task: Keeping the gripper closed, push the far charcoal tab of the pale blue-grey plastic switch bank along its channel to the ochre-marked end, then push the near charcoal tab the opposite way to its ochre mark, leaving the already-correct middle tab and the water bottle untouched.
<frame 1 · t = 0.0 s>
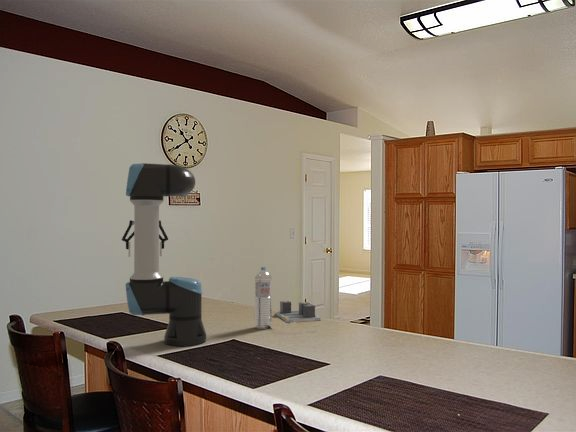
hand: (145, 256, 225), 28 cm above the counter, fingers open, 13 cm apart
water bottle: (263, 328, 205), on the counter
tab mid: (304, 309, 221), point 5 cm above the counter, slide at -3.5 cm
switch bank: (297, 320, 220), on the counter
tab far: (285, 308, 225), point 5 cm above the counter, slide at 3.5 cm
tab near: (309, 312, 215), point 5 cm above the counter, slide at -3.5 cm
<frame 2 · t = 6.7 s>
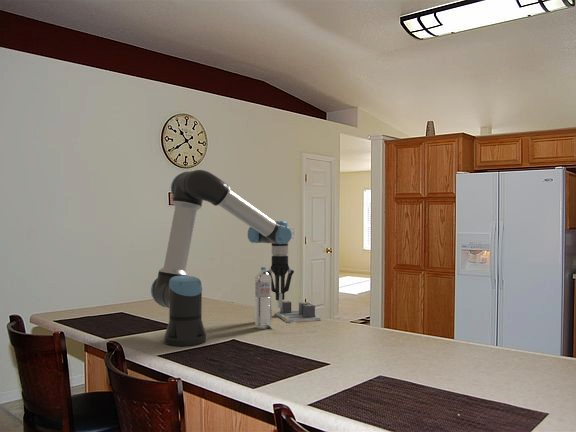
hand: (280, 307, 224), 5 cm above the counter, fingers closed
tab far: (285, 308, 225), point 5 cm above the counter, slide at 3.4 cm, touching gripper
everything else where it was.
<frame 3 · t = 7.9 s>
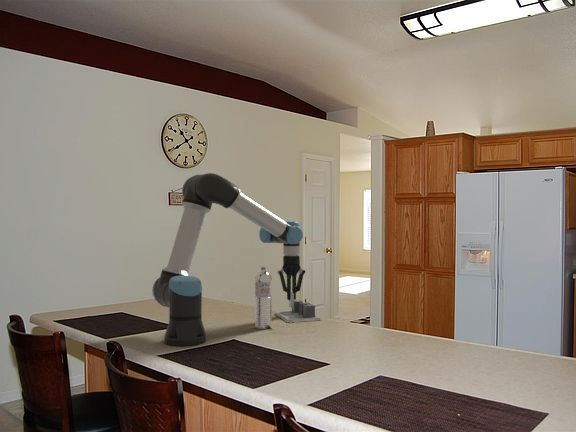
hand: (291, 307, 226), 5 cm above the counter, fingers closed
tab far: (297, 307, 226), point 5 cm above the counter, slide at -2.0 cm, touching gripper
everything else where it was.
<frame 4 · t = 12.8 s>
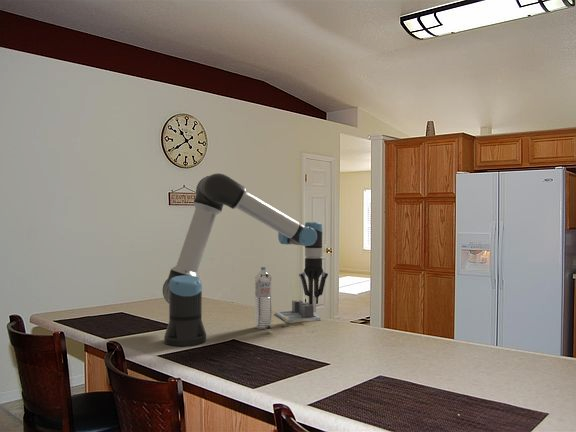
hand: (313, 311, 216), 5 cm above the counter, fingers closed
tab far: (297, 307, 227), point 5 cm above the counter, slide at -2.2 cm
tab near: (307, 312, 215), point 5 cm above the counter, slide at -2.8 cm, touching gripper
everything else where it was.
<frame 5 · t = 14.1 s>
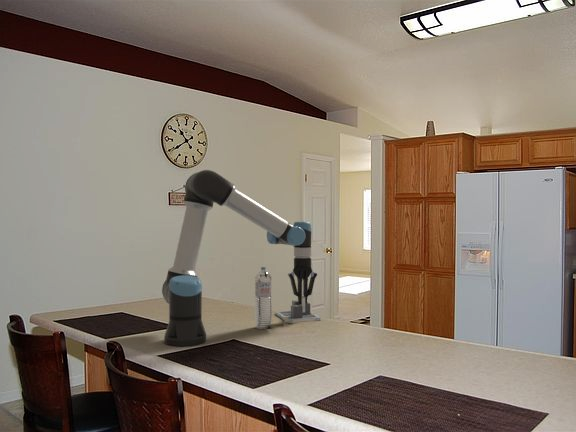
hand: (302, 311, 215), 5 cm above the counter, fingers closed
tab near: (296, 312, 214), point 5 cm above the counter, slide at 2.2 cm, touching gripper
everything else where it was.
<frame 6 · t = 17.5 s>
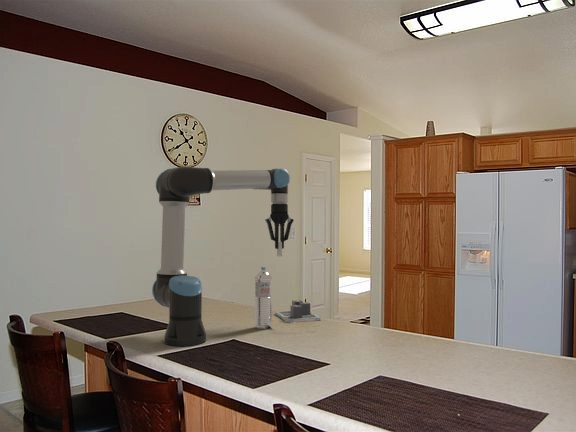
hand: (279, 256, 222), 28 cm above the counter, fingers closed
tab near: (296, 312, 214), point 5 cm above the counter, slide at 2.3 cm
everything else where it was.
at the end: tab far slide at -2.2 cm; tab near slide at 2.3 cm; water bottle moved 0.2 cm from its start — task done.
